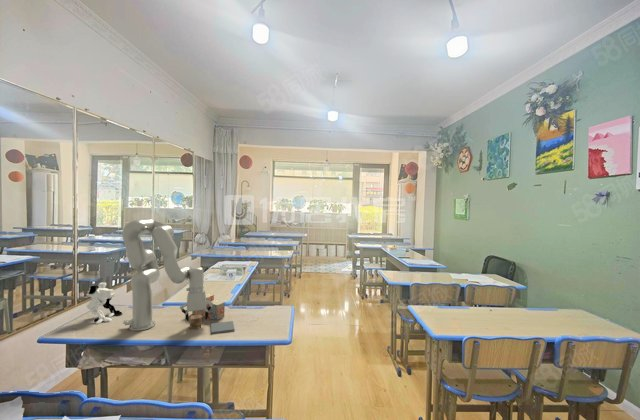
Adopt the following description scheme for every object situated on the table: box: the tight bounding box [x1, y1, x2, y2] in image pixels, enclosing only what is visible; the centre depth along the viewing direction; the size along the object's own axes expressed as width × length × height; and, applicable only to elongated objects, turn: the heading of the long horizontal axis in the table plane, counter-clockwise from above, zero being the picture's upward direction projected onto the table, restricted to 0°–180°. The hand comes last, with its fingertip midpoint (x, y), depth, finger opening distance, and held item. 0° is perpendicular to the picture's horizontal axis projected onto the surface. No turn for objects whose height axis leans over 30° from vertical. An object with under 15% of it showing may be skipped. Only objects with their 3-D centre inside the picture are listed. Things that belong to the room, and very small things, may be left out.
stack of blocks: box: [191, 293, 226, 321], centre depth 186 cm, size 21×6×12 cm, turn 63°
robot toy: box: [86, 282, 123, 325], centre depth 179 cm, size 19×14×20 cm
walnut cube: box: [189, 314, 202, 330], centre depth 169 cm, size 6×6×6 cm
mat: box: [210, 320, 235, 335], centre depth 168 cm, size 12×12×1 cm
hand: (197, 319), depth 169 cm, fingers open, 9 cm apart
